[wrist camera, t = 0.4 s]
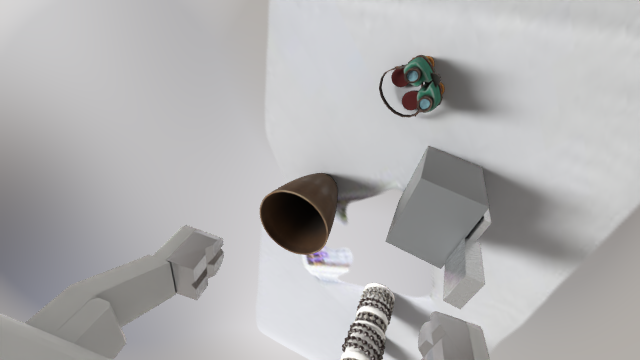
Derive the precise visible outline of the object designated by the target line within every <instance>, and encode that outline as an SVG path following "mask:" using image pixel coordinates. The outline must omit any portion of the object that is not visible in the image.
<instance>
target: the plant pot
mask: <svg viewBox="0 0 640 360" xmlns="http://www.w3.org/2000/svg"><path fill="white" fill-rule="evenodd" d="M337 196H338V190H337V185H336V182H335V181H334V180H333V178H331V177H330V176H329V175H327V174H324V173H316V174H311V175H307V176H304V177H301V178H298V179H296V180H293V181H291V182H289V183H287V184H285V185H283V186H281V187H279V188H278V189H276V190H274V191H273V192H271V193H270V194H268V195H267V196H266V197H265V198H264V199H263V200H262V203H261V205H260V218H261V222H262V224H263V227H264V229H265V230H266V232H267V233H268V235H269V236H270V237H271V238H272V239H273V240H274V241H275V242H276V243H277V244H278V245H280V246H281V247H283V248H284V249H286V250H288V251H290V252H293V253H296V254H303V255H308V254H313V253H316V252H318V251H320V250H321V249H322V248H323V247H324V246H325V244H326V242H327V239H328V236H329V234H330V231H331V228H332V225H333V221H334V217H335V213H336V207H337Z"/></svg>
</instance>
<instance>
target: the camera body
mask: <svg viewBox="0 0 640 360" xmlns="http://www.w3.org/2000/svg"><path fill="white" fill-rule="evenodd" d="M488 209H489V202H488V197H487V192H486V186H485V181H484V176H483V170H482V167H480V166H478V165H475V164H473V163H470V162H468V161H465V160H463V159H460V158H458V157H455V156H453V155H450V154H448V153H445V152H443V151H440V150H438V149H435V148H433V147H430V146H428V148H427V149H426V151H425V153H424V155H423V157H422V159H421V161H420V163H419V165H418V166H417V168H416V170H415V172H414V174H413V176H412V178H411V180H410V181H409V183H408V185H407V187H406V189H405V191H404V193H403V195H402V197H401V198H400V200H399V203H398V206H397V209H396V212H395V215H394V218H393V221H392V224H391V227H390V230H389V233H388V236H387V239H386V242H388V243H390V244H392V245H394V246H396V247H398V248H400V249H402V250H404V251H406V252H408V253H410V254H412V255H414V256H416V257H418V258H420V259H422V260H424V261H426V262H428V263H430V264H432V265H434V266H436V267H438V268H440V269H441V268H442V267H443V266H444V264H445V261H446V260H447V259H448V257H449V256H450V255H451V254H452V252H453V251H454V250H455V248H456V247H457V246H458V245H459V243H460V242H461V241H462V239H463V238H464V237H467V235H468V234H469V233H470V231H471V230H472V229H473V228H474V226H475V225H476V224H477V223H478V221H479V220H480V219H481V218H482V216H483V215H484V214H485V212H486V211H487V210H488Z"/></svg>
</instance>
